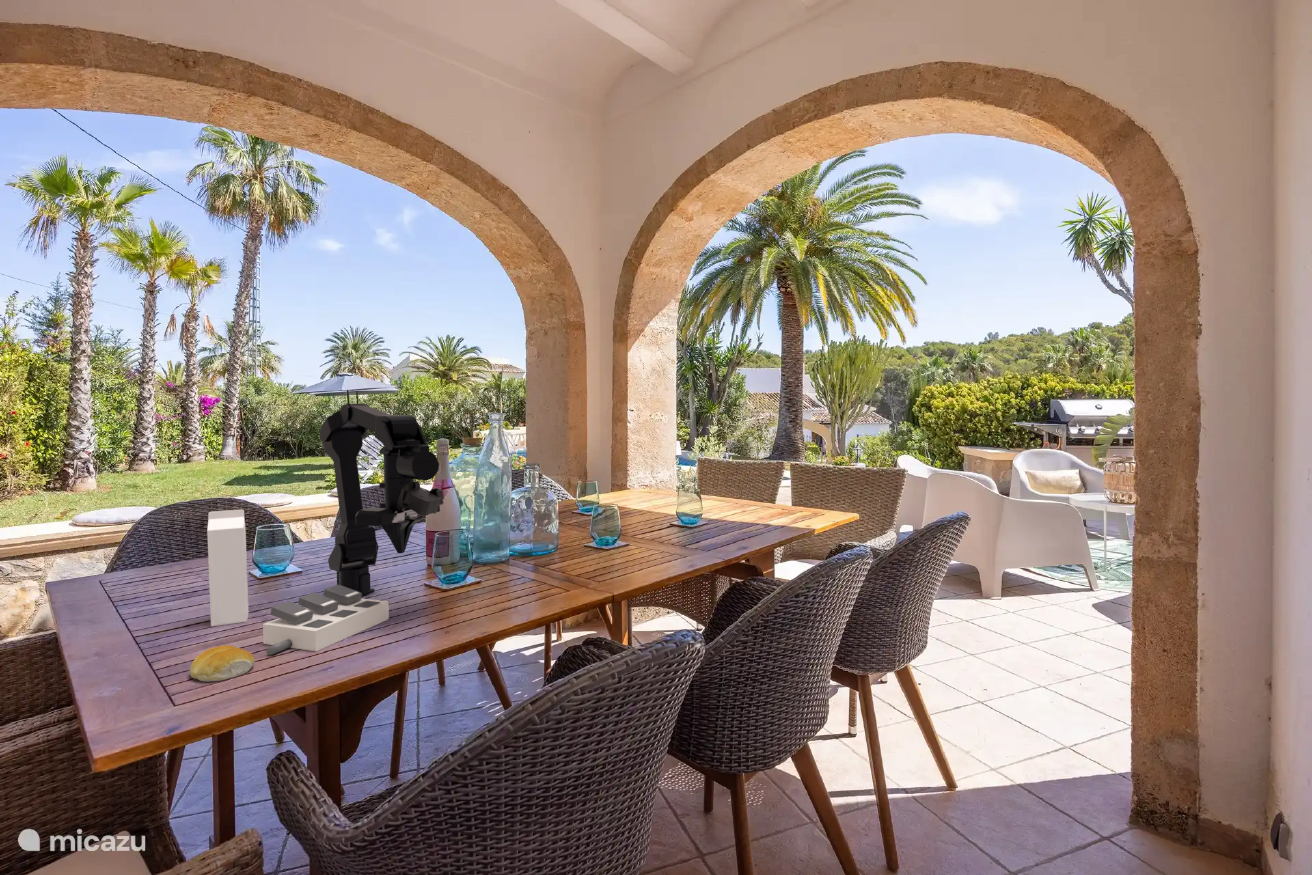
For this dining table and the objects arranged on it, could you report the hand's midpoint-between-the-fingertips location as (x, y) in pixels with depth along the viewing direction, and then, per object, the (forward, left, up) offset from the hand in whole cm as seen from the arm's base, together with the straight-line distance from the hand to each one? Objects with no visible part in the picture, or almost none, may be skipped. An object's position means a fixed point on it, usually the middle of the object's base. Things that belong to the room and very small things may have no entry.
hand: (401, 552), depth 134 cm
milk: (-30, -14, -13) cm, 35 cm away
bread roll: (-8, -33, -13) cm, 36 cm away
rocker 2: (-9, -7, -8) cm, 13 cm away
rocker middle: (-9, -13, -8) cm, 17 cm away
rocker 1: (-9, -19, -8) cm, 22 cm away
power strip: (-6, -15, -13) cm, 20 cm away
